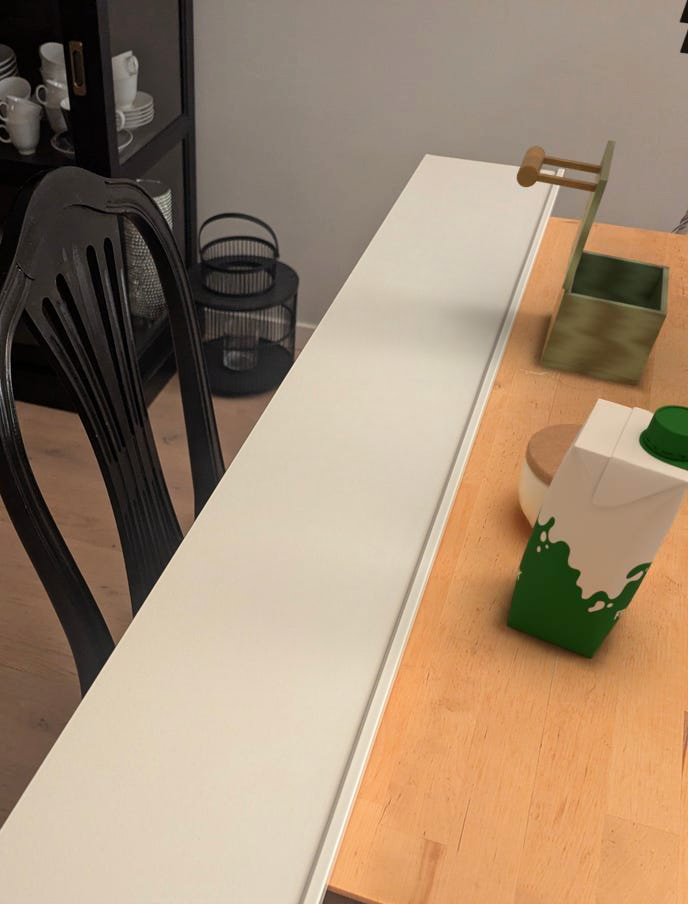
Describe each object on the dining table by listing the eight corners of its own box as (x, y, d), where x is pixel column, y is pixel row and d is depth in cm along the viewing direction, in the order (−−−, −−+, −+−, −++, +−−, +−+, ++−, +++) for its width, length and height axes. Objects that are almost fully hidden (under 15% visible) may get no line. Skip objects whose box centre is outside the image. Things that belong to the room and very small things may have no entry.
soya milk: (599, 670, 73) (711, 463, 59) (490, 627, 76) (571, 419, 62) (623, 606, 79) (730, 402, 64) (520, 568, 81) (601, 364, 67)
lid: (615, 141, 101) (534, 127, 103) (607, 180, 92) (518, 164, 94) (579, 245, 110) (504, 230, 111) (568, 290, 101) (487, 273, 103)
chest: (640, 335, 114) (669, 266, 108) (635, 386, 105) (667, 314, 99) (551, 316, 116) (574, 248, 110) (539, 364, 107) (563, 293, 101)
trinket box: (622, 573, 82) (665, 488, 75) (501, 548, 83) (533, 463, 76) (617, 503, 89) (655, 420, 82) (505, 482, 90) (535, 398, 84)
